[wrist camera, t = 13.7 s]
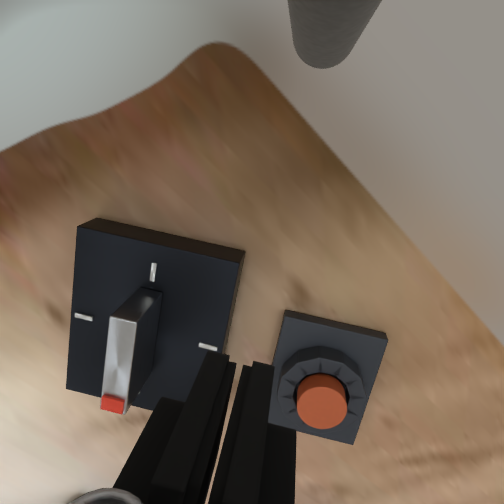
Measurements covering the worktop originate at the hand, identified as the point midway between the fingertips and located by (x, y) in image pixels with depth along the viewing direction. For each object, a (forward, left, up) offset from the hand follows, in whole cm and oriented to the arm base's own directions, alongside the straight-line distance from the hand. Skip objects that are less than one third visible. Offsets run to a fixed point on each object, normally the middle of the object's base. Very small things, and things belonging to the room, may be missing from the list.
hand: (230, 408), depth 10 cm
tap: (+10, -8, -19) cm, 23 cm away
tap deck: (+10, -8, -22) cm, 25 cm away
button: (+12, +6, -19) cm, 23 cm away
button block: (+12, +6, -22) cm, 26 cm away
